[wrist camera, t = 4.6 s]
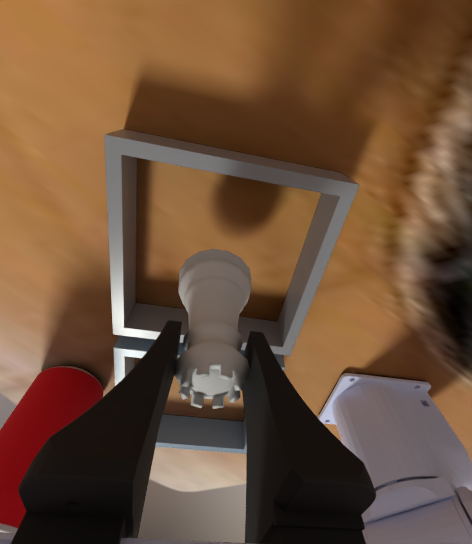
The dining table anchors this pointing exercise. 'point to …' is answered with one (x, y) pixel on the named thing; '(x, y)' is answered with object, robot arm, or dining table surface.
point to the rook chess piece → (213, 327)
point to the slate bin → (184, 428)
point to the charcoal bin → (133, 145)
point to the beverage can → (39, 429)
